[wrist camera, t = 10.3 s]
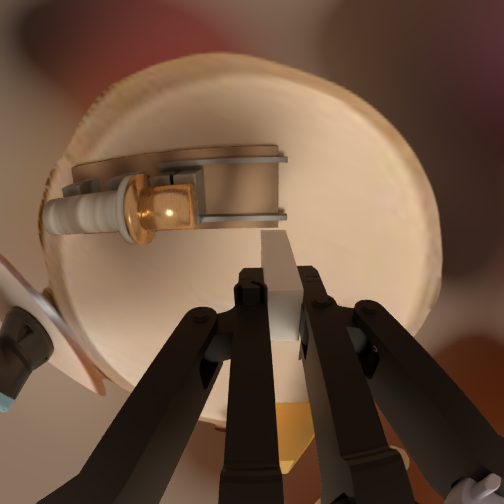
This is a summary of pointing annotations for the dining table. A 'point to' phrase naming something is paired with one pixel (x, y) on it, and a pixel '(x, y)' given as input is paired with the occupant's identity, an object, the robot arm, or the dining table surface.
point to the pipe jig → (210, 159)
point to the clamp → (293, 432)
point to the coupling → (163, 202)
